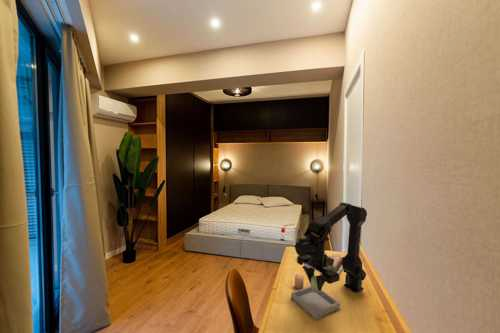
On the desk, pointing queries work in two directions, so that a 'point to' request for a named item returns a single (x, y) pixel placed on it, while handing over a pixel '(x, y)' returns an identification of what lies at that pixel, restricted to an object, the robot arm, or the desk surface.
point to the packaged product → (336, 264)
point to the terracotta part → (299, 281)
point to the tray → (315, 302)
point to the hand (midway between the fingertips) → (315, 287)
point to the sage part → (314, 284)
